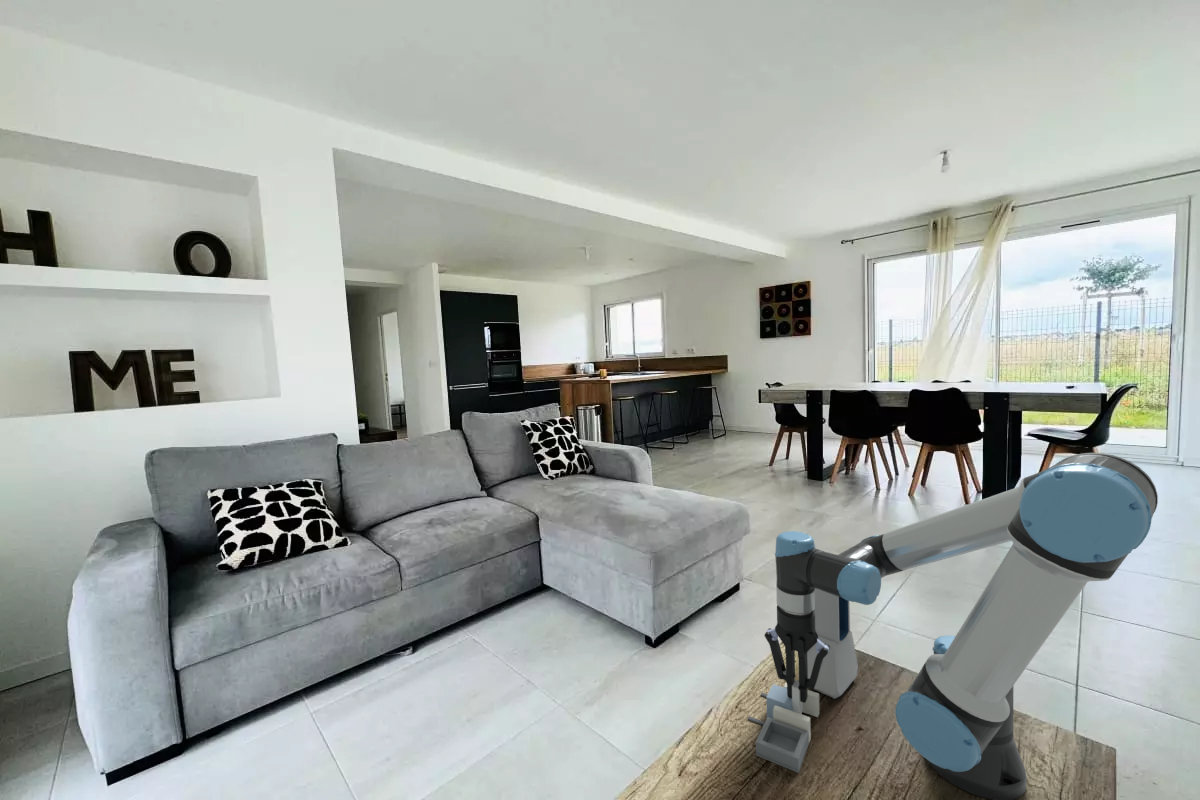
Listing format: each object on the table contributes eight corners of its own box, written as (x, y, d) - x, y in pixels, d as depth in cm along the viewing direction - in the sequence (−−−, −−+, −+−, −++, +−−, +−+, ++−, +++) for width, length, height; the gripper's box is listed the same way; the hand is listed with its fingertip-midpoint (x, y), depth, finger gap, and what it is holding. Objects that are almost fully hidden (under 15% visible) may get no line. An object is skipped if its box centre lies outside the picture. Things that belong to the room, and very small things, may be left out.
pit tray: (808, 744, 97) (808, 731, 97) (798, 773, 91) (798, 758, 91) (768, 729, 102) (767, 716, 102) (756, 755, 96) (755, 741, 95)
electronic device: (827, 665, 122) (824, 548, 120) (859, 678, 117) (857, 556, 115) (805, 688, 114) (802, 564, 112) (838, 704, 108) (835, 573, 107)
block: (797, 713, 106) (796, 691, 106) (791, 728, 102) (790, 705, 102) (773, 705, 109) (773, 684, 109) (767, 719, 105) (766, 696, 105)
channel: (819, 713, 106) (819, 693, 106) (809, 743, 98) (808, 722, 98) (786, 701, 110) (785, 682, 110) (773, 729, 102) (772, 709, 102)
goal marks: (783, 701, 110) (783, 700, 110) (771, 728, 102) (771, 727, 102) (761, 693, 113) (761, 692, 113) (747, 719, 105) (747, 718, 105)
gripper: (832, 606, 101) (834, 714, 103) (769, 592, 109) (771, 692, 111) (825, 623, 95) (827, 736, 97) (759, 606, 103) (761, 712, 105)
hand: (797, 713), depth 104 cm, fingers closed
